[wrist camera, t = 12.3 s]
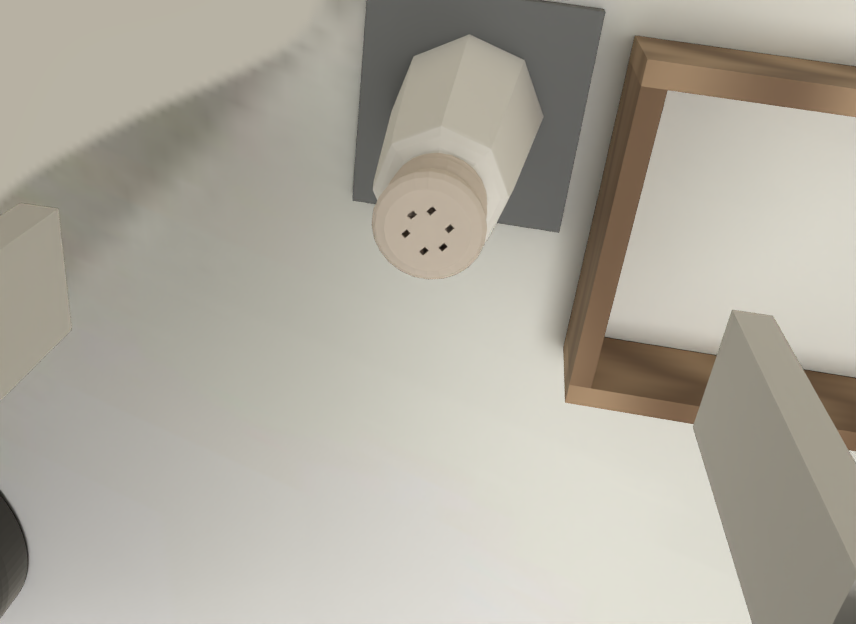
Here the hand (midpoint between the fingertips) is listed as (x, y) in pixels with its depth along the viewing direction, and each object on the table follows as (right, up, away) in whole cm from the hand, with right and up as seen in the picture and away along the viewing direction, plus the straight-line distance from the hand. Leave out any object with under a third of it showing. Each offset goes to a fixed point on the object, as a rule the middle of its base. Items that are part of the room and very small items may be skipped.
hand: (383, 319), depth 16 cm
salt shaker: (+2, +7, +13) cm, 15 cm away
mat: (+2, +8, +14) cm, 16 cm away
